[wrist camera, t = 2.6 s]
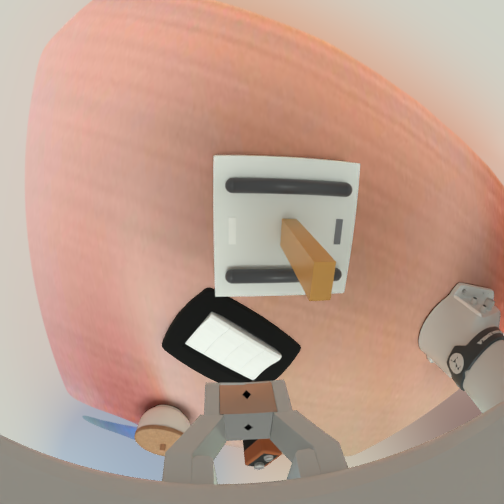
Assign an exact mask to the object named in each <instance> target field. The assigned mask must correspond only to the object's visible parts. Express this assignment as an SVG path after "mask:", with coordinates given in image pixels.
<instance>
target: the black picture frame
mask: <svg viewBox="0 0 504 504" xmlns="http://www.w3.org/2000/svg"><path fill="white" fill-rule="evenodd" d="M162 347H163V348H164V350H165V351H167V352H168V353H169V354H171V355H172V356H173V357H175V358H176V359H178V360H179V361H181V362H182V363H184V364H185V365H187V366H188V367H190V368H192V369H193V370H195V371H197V372H199V373H200V374H202V375H204V376H206V377H208V378H210V379H212V380H214V381H216V382H218V383H245V382H259V381H274V380H275V379H277V378H278V377H279V376H280V375H281V374H282V373H283V372H284V371H285V370H286V369H287V367H288V366H289V365H290V364H291V363H292V361H293V360H294V359H295V357H296V356H297V354H298V353H299V352H300V349H301V347H300V345H299V344H298V343H297V342H296V341H294V340H293V339H292V338H291V337H290V336H288V335H287V334H286V333H284V332H283V331H282V330H281V329H279V328H278V327H277V326H275V325H274V324H272V323H271V322H269V321H268V320H266V319H265V318H264V317H262V316H260V315H259V314H257V313H256V312H254V311H252V310H251V309H249V308H247V307H246V306H244V305H242V304H240V303H239V302H237V301H235V300H233V299H232V298H230V297H215V290H214V289H212V288H206V289H204V290H203V291H202V292H201V293H199V294H198V295H197V296H196V297H194V298H193V299H192V300H191V301H190V302H189V303H188V304H187V305H186V306H185V307H184V308H183V309H182V310H181V311H180V312H179V313H178V315H177V316H176V318H175V319H174V321H173V323H172V324H171V326H170V327H169V329H168V331H167V333H166V336H165V338H164V340H163V342H162Z"/></svg>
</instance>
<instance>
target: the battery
mask: <svg viewBox="0 0 504 504" xmlns="http://www.w3.org/2000/svg"><path fill="white" fill-rule="evenodd" d="M243 445H244V457H245V464H246V465H248V466H254V469H258V470H260V469H263V468H264V467H265V466H267V465H268V464H269V463H271V462H272V461H273V460H275V459H276V458H277V457H279V456H280V455H281V454H282V452H281V451H280V450H279V449H278V448H277V447H276V445H275V444H274V443H273V442H272V441H271V440H270V439H248V440H243Z"/></svg>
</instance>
